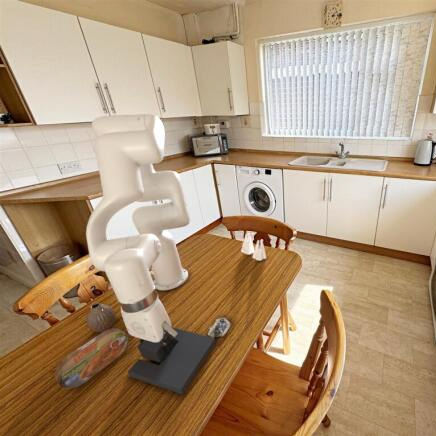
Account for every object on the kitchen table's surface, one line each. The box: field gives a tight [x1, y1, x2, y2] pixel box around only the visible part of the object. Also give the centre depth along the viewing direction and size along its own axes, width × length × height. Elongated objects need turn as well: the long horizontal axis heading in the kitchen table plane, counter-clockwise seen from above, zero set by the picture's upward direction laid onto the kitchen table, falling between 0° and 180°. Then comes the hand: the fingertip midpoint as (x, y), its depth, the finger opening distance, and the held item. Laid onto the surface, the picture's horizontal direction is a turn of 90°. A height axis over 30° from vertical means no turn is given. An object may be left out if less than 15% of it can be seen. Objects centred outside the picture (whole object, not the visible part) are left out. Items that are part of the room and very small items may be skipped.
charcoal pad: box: [127, 326, 217, 396], centre depth 63 cm, size 16×14×2 cm
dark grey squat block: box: [137, 334, 176, 363], centre depth 64 cm, size 6×6×4 cm
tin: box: [54, 328, 129, 389], centre depth 61 cm, size 15×3×8 cm, turn 148°
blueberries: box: [206, 317, 232, 339], centre depth 72 cm, size 7×8×2 cm
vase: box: [85, 302, 117, 333], centre depth 72 cm, size 7×7×9 cm
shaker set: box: [240, 233, 267, 261], centre depth 105 cm, size 12×4×11 cm, turn 58°
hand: (159, 348), depth 64 cm, fingers closed on dark grey squat block, 5 cm apart
